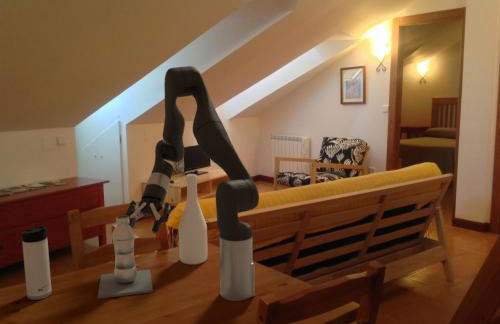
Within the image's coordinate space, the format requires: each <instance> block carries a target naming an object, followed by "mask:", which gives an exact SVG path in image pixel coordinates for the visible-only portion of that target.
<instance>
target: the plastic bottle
mask: <svg viewBox="0 0 500 324" xmlns="http://www.w3.org/2000/svg"><path fill="white" fill-rule="evenodd" d="M115 219H116V222H115V225H116V226H115V228H114V230H113V231H112V234H111V235H112V236H111V239H112V243H113V247H114V256H115V258H114V259H115V261H114V264H115V265H114V276H115V279H116V281H117V282H118V283H130V282H133V281H134V280H135V279H136V277H137V271H138V270H137V265H136V262H135V261H136V260H135V252H134V251H135V237H136V236H135V234H136V233H135V231H134V228H133V229H132V228H131V226H130V225H129V223H130V221H129V216H126V215H119V216H116V217H115Z"/></svg>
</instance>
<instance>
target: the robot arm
mask: <svg viewBox="0 0 500 324" xmlns="http://www.w3.org/2000/svg"><path fill="white" fill-rule="evenodd" d="M190 96H192V97H193V99H195V102H196V111H195V115H194V118H193V122H192V134H193V136H194V139H195V141H196V143H197V145H198V147H199V149H200V151H201V152H202V153H203V154H204V155H205V156H206V158H208V159H210V161H212V162H213V163H215V164H216V165H217V166H218V167H219V168H220V169H222V171H223V172H225V174H226V176H227V177H228V179H229V180H224V181H223V180H222V181H221V182H220V183H219V184H218V185H217V187H216V191H215V208H216V224H217V228H218V232H219V282H220V283H219V286H220V287H219V289H220V290H219V291H220V296H221V298H223V299H224V300H227V301H231V302H241V301H246V300H247V299H249V298H251V297H255V296H256V295H255V293H256V292H255V291H256V290H255V286H256V285H255V282H256V279H255V274H256V273H255V269H256V268H255V265H256V264H255V263H254V261H253V227H252V225H251V224H249V223H248V222H243V221H240V220H239V213H244V212H249V211H252V210H255V209H256V208H257V207H258V205H259V202H260V195H259V190H258V187H257V184H256V183H255V182H254V180H253V179H254V178H252V176H251V174H250V173H249V171H248V169H247V168H246V167H245V165H244V164H243V163H244V162H243V161H242V160H241V158H240V157H239V154H238V153H237V151H236V149H235V147H234V145H233V143H232V141H231V139H230V137H229V134H228V132H227V129H226V128H225V125H224V123H223V122H222V119H221V118H220V116H219V113H218V112H217V110H216V108H215V106H214V104H213V101H212V98H211V96H210V93H209V90H208V88H207V86H206V83H205V80H204V77H203V75H202V73H201V71H200V70H199V69H198V67H196V66H193V65H190V66H189V65H188V66H177V67H171V68H168V69H167V70H166V72H165V75H164V123H163V130H162V139H161V140H158V141H157V143H156V145H155V147H154V148H155V149H154V154H155V157H154V165H153V168H152V170H151V173H150V175H149V177H148V179H147V181H146V185H145V186H144V190H143V192H142V196H141V199H140V201H139V202H138V201H137V202H136V201H135V200H131V201H130V204H129V206H128V207H127V210H126V213H125V216H129V221H130V223H129V225H130V226H131V228H132V229H133V230H134V228H135V225H136V221H138V220H139V219H140V218H143V217H152V218H153V217H155V219H156V220H154V222H153V226H152V228H151V232H152V234H157V233H158V232H159V231H160V227H161V224H162V223H168V221H169V217H170V213H171V209H172V206H171V205H170V204H169V202H165V199H166V197H167V194H168V191H169V188H170V183H171V179H172V176H173V173H174V165H172V163H180V162H181V161H182V160H183V159H184V157H185V145H184V139H183V138H184V137H183V136H184V131H185V127H186V121H185V117H184V115H183V113H182V111H181V110H180V109H179V107H178V105H177V99H178V98H183V97H190ZM170 162H172V163H170ZM164 202H165V203H164ZM161 210H163V212H162V215H161V214H160V211H161Z"/></svg>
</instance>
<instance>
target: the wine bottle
mask: <svg viewBox="0 0 500 324" xmlns="http://www.w3.org/2000/svg"><path fill="white" fill-rule="evenodd" d="M185 181H186V201H185V205H184V209H183V212H182V216H181V218H180V221H179V226H178V249H179V260H180V262H181V263H183V264H185V265H190V266H191V265H194V266H195V265H200V264H202V263H205V261H207V259H208V225H207V222H206V220H205V219H206V218H205V217H204V214H203V211H202V208H201V205H200V202H199V199H198V185H197V182H198V176H197V174H195V173H188V174H187V175H186V177H185Z"/></svg>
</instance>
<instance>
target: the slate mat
mask: <svg viewBox="0 0 500 324" xmlns="http://www.w3.org/2000/svg"><path fill="white" fill-rule="evenodd" d="M148 293H153V283H152V275H151V269H143V270H141V269H140V270H137V277H136V279H135V280H134V281H133V282H130V283H118V282H117V281H116V279H115V276H114V273H106V274H100V277H99V285H98V293H97V299H98V300H99V299H108V298H116V297H123V296H124V297H125V296H132V295H139V294H148Z"/></svg>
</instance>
